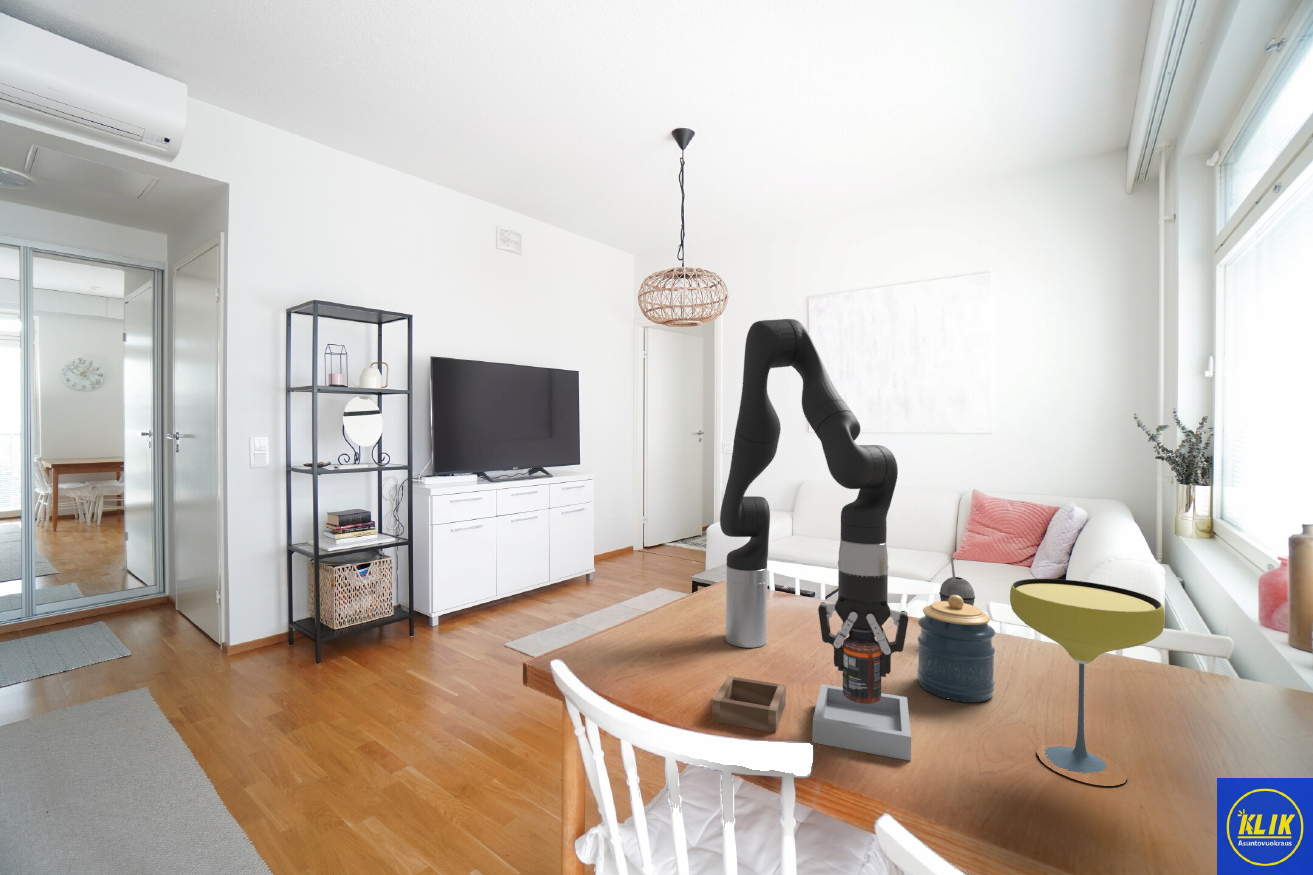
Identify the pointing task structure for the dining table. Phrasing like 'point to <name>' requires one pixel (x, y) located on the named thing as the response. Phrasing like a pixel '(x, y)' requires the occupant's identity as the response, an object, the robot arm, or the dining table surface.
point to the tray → (863, 723)
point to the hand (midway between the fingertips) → (861, 671)
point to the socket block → (749, 712)
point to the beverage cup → (957, 588)
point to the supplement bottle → (862, 667)
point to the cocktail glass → (1085, 635)
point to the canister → (956, 651)
